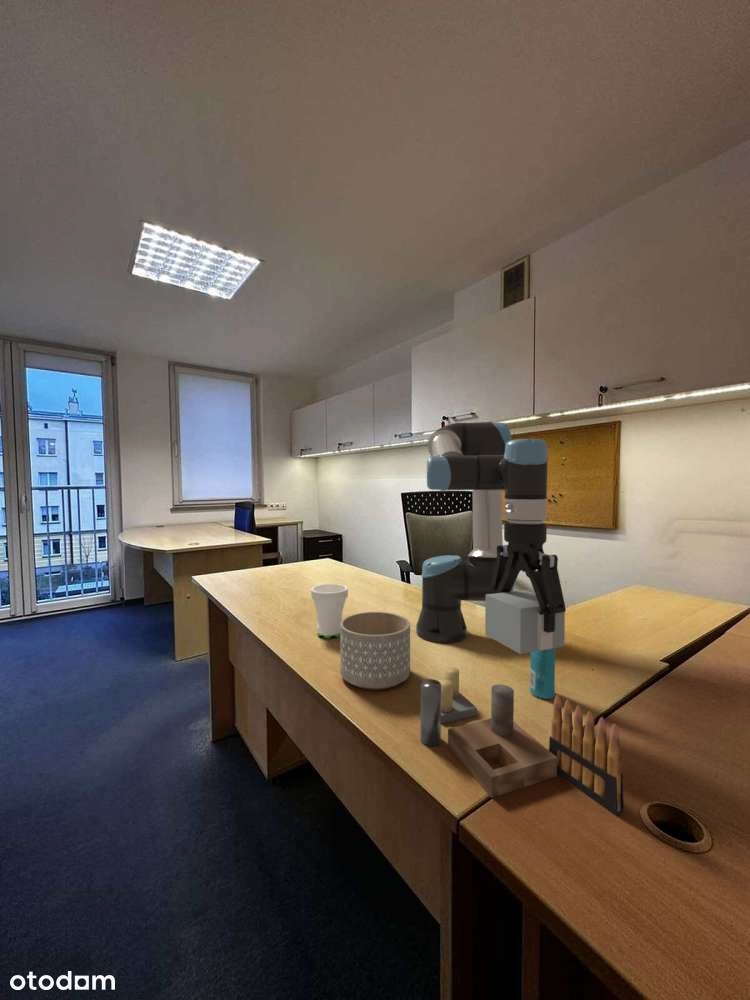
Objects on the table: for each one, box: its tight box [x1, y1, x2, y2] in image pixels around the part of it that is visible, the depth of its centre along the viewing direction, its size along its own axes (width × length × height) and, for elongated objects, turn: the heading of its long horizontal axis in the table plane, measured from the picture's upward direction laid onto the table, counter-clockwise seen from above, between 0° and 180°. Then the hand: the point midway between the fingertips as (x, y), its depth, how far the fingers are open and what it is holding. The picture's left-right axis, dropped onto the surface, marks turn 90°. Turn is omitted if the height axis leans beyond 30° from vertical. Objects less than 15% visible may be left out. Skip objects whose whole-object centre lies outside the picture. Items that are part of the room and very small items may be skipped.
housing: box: [484, 589, 566, 655], centre depth 75 cm, size 10×10×8 cm
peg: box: [419, 678, 442, 748], centre depth 69 cm, size 4×4×10 cm
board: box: [437, 666, 478, 725], centre depth 79 cm, size 8×8×6 cm
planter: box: [339, 611, 411, 691], centre depth 92 cm, size 16×16×13 cm
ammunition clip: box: [548, 694, 625, 817], centre depth 58 cm, size 11×2×12 cm, turn 29°
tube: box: [529, 648, 556, 700], centre depth 84 cm, size 7×5×19 cm, turn 26°
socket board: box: [447, 684, 558, 799], centre depth 63 cm, size 12×12×10 cm
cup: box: [310, 583, 349, 640], centre depth 118 cm, size 11×11×14 cm
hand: (523, 637), depth 75 cm, fingers closed on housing, 10 cm apart
